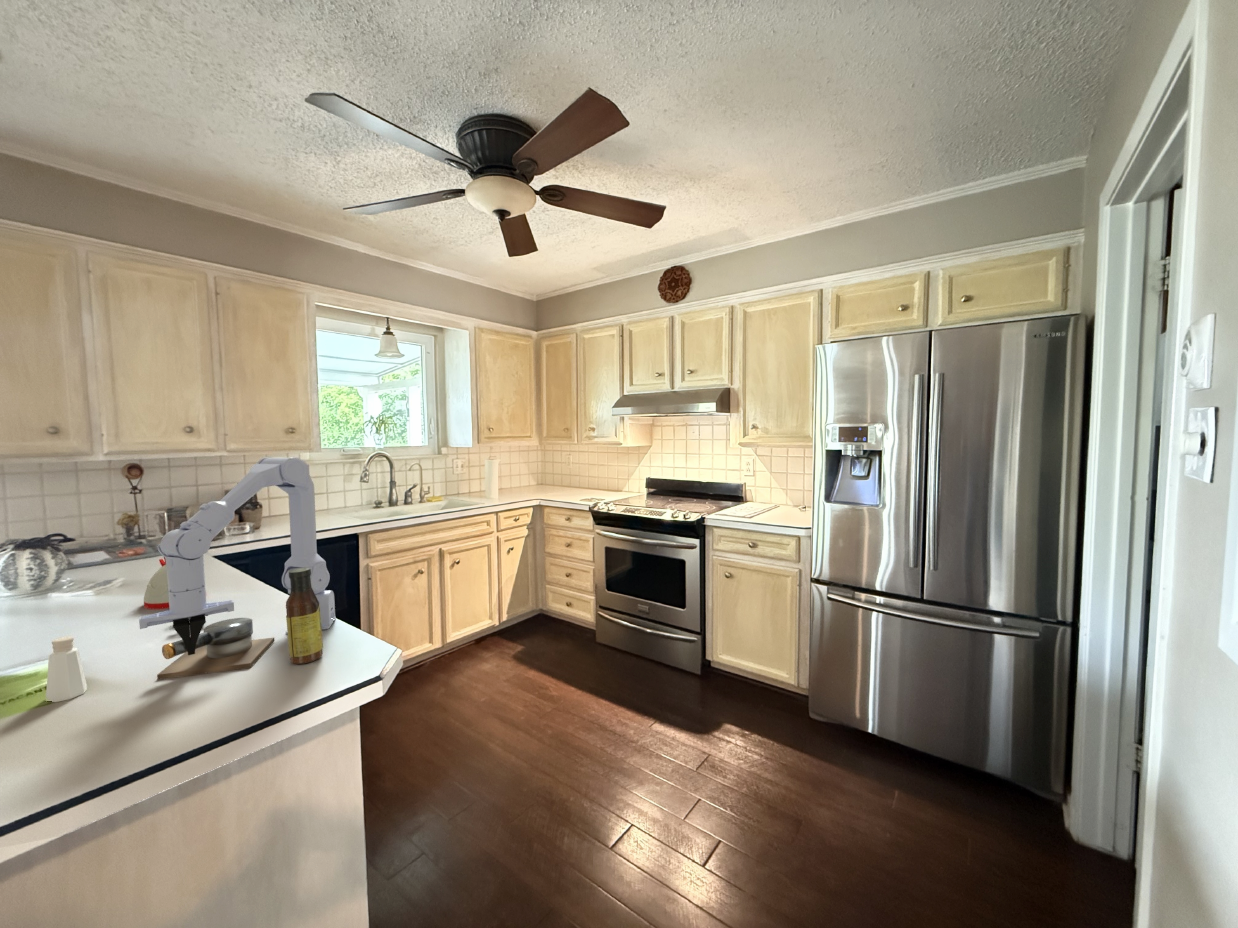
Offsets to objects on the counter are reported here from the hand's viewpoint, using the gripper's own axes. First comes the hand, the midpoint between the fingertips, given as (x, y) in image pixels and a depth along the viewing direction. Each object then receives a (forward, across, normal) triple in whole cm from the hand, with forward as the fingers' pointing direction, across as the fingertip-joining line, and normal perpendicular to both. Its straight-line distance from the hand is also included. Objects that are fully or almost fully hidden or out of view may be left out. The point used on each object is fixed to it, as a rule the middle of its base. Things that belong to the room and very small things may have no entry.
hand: (191, 653), depth 102 cm
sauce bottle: (+5, -19, +8) cm, 21 cm away
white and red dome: (+5, +2, -64) cm, 64 cm away
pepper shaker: (+5, +18, -5) cm, 19 cm away
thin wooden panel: (+4, -5, -5) cm, 8 cm away
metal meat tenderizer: (+1, -3, -5) cm, 6 cm away
